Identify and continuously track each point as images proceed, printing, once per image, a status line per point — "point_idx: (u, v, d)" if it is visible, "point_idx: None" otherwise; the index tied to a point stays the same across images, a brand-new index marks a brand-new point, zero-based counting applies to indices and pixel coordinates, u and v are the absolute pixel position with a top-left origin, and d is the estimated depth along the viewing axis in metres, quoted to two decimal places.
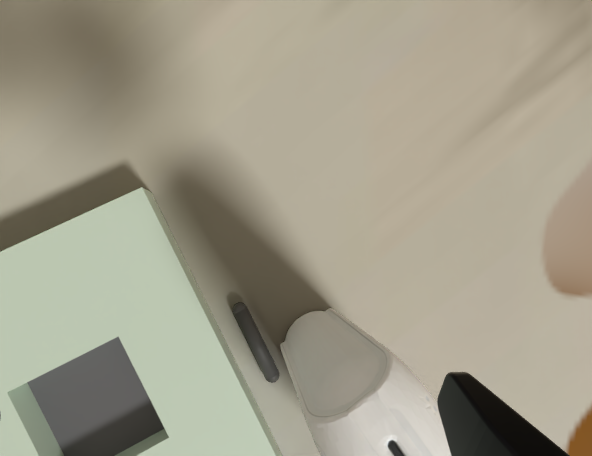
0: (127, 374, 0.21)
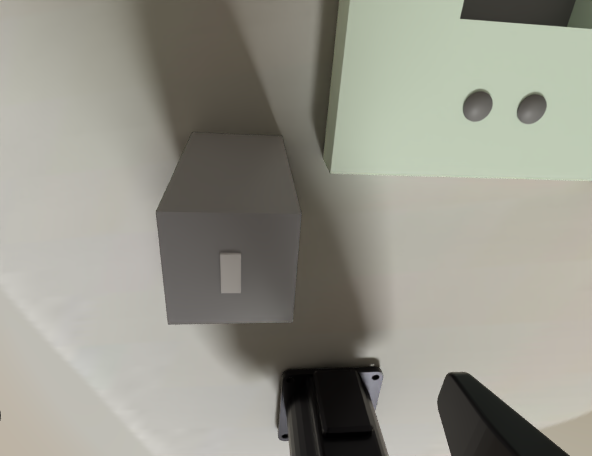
0: None
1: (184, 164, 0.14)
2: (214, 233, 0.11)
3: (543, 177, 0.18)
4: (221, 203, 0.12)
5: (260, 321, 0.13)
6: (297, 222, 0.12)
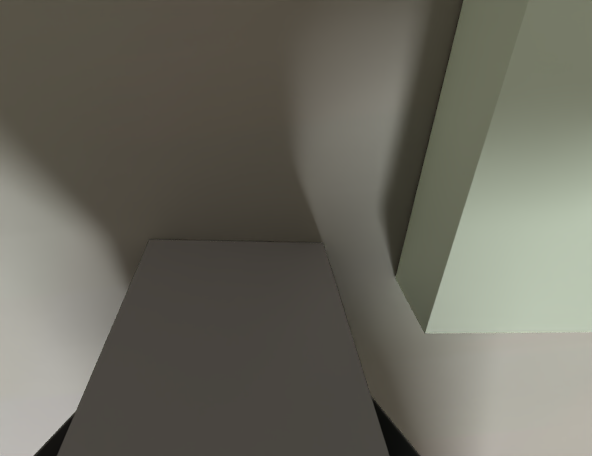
0: None
1: (102, 394, 0.06)
2: None
3: None
4: None
5: None
6: None
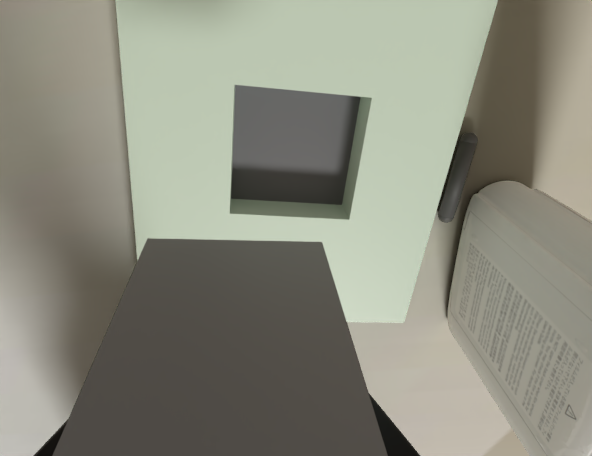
0: (331, 135, 0.19)
1: (99, 394, 0.05)
2: None
3: None
4: None
5: None
6: None
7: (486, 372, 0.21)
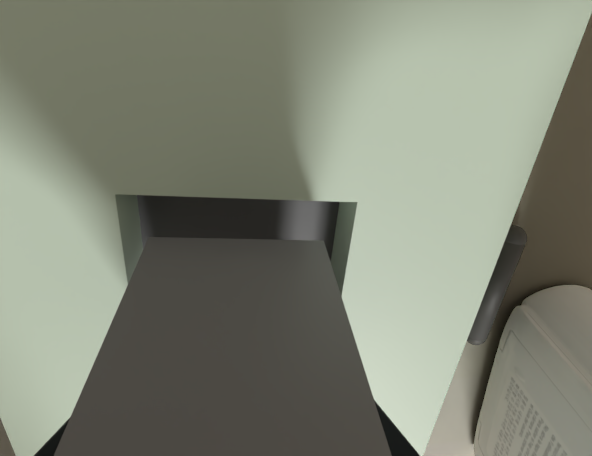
0: None
1: (101, 392, 0.05)
2: None
3: None
4: None
5: None
6: None
7: None
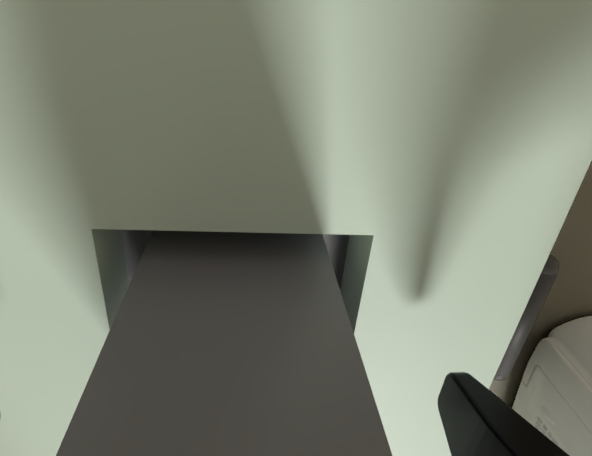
0: None
1: (117, 353, 0.06)
2: None
3: None
4: None
5: None
6: None
7: None
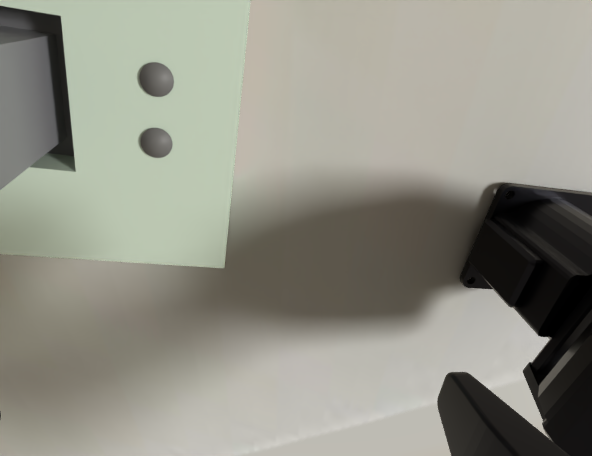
0: None
1: None
2: None
3: (243, 42, 0.15)
4: None
5: None
6: None
7: None
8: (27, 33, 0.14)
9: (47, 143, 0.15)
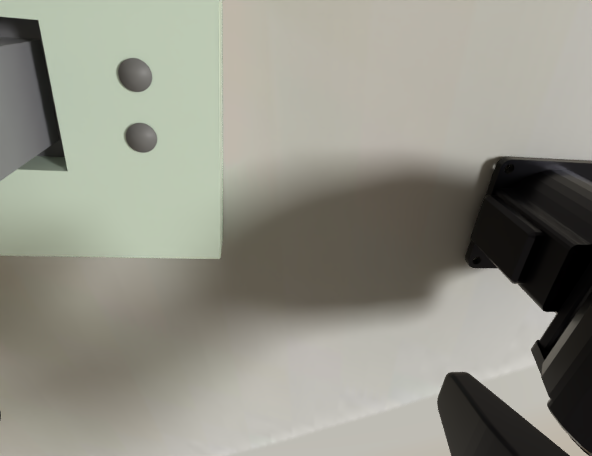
0: None
1: None
2: None
3: (216, 31, 0.15)
4: None
5: None
6: None
7: None
8: (11, 40, 0.15)
9: (38, 145, 0.16)
